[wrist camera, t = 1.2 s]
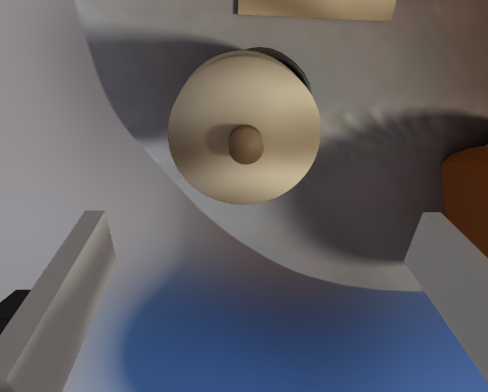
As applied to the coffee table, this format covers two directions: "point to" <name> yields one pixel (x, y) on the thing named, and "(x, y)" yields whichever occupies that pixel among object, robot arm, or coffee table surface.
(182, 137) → the lid
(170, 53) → the coffee table surface
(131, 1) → the coffee table surface
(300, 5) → the mat
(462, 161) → the alarm clock
